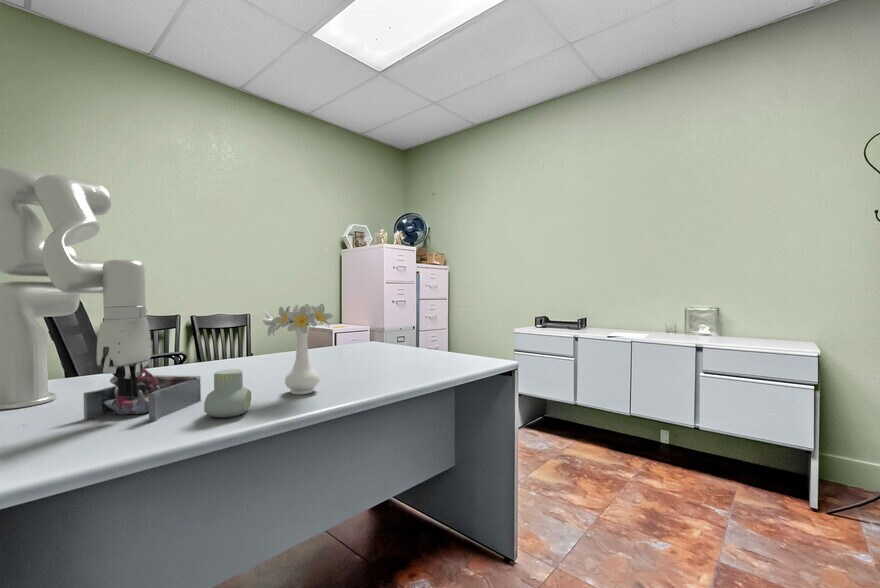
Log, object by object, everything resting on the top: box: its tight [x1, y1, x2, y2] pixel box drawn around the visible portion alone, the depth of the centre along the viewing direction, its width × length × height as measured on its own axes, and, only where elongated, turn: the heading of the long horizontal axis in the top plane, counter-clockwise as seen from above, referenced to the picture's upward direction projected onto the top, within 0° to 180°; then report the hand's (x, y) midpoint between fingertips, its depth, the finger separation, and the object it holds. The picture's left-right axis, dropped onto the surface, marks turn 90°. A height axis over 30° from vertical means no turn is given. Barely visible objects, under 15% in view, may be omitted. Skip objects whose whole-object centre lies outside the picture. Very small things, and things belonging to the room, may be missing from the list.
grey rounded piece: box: [203, 368, 252, 419], centre depth 93 cm, size 11×8×10 cm
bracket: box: [83, 374, 202, 422], centre depth 97 cm, size 17×16×7 cm
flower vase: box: [262, 303, 334, 396], centre depth 112 cm, size 13×18×25 cm
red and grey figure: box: [103, 367, 160, 416], centre depth 96 cm, size 11×11×12 cm
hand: (128, 395), depth 91 cm, fingers closed
